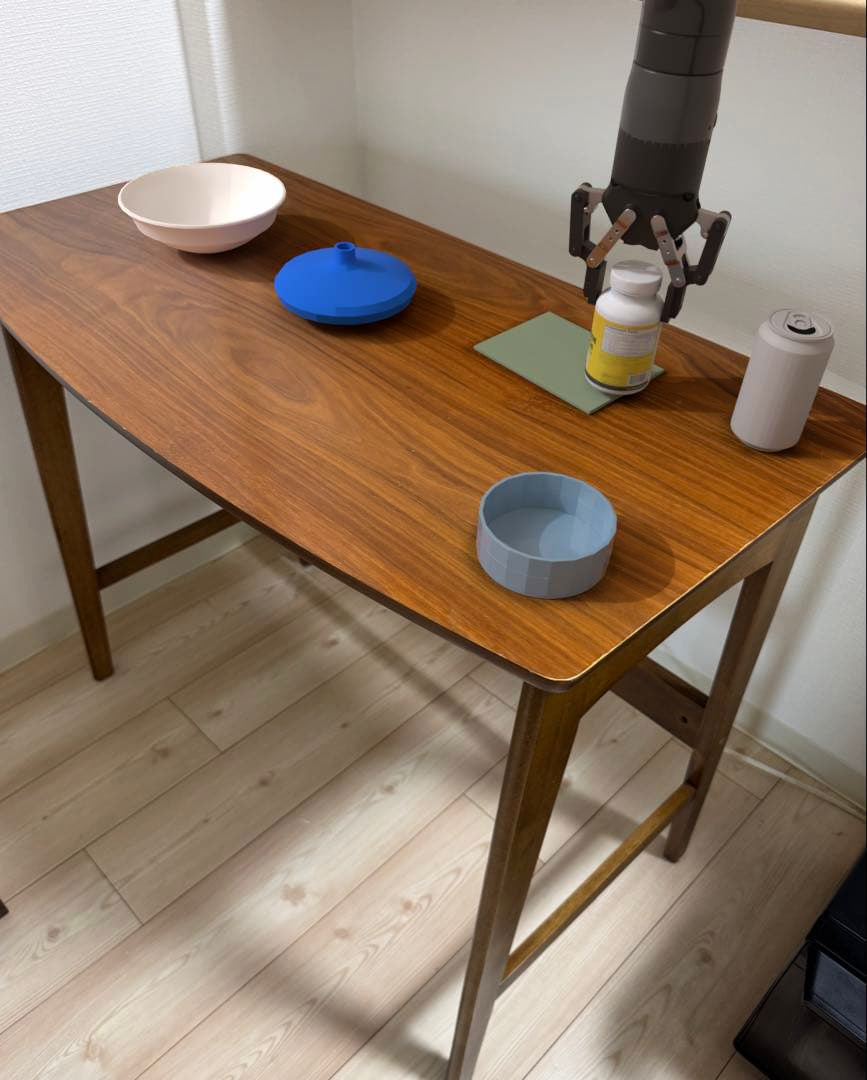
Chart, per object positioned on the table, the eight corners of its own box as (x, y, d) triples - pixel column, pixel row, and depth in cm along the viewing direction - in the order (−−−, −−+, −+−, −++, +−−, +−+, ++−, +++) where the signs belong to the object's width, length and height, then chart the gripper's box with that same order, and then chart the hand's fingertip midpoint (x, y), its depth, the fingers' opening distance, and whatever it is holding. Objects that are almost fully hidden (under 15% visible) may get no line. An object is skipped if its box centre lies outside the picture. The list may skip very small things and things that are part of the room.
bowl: (98, 266, 107) (86, 214, 103) (170, 203, 121) (162, 154, 117) (256, 289, 104) (250, 235, 100) (311, 221, 118) (308, 172, 114)
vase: (248, 300, 102) (242, 240, 97) (359, 262, 110) (358, 205, 105) (331, 357, 93) (328, 294, 89) (445, 312, 101) (447, 252, 97)
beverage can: (730, 451, 84) (767, 336, 76) (725, 413, 88) (759, 300, 80) (801, 460, 83) (845, 344, 75) (792, 421, 88) (833, 308, 80)
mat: (663, 372, 94) (664, 369, 93) (589, 414, 87) (589, 411, 87) (548, 314, 102) (549, 311, 102) (473, 349, 96) (473, 345, 95)
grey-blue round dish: (536, 492, 78) (542, 455, 75) (634, 555, 73) (644, 518, 70) (449, 547, 73) (451, 509, 70) (548, 620, 67) (554, 582, 64)
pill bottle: (609, 356, 93) (629, 249, 86) (661, 381, 90) (687, 272, 82) (570, 378, 90) (587, 268, 82) (622, 406, 87) (645, 294, 79)
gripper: (567, 121, 73) (544, 309, 84) (745, 154, 69) (696, 347, 80) (596, 97, 78) (570, 277, 90) (763, 126, 74) (714, 311, 85)
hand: (630, 309), depth 85 cm, fingers closed on pill bottle, 6 cm apart
